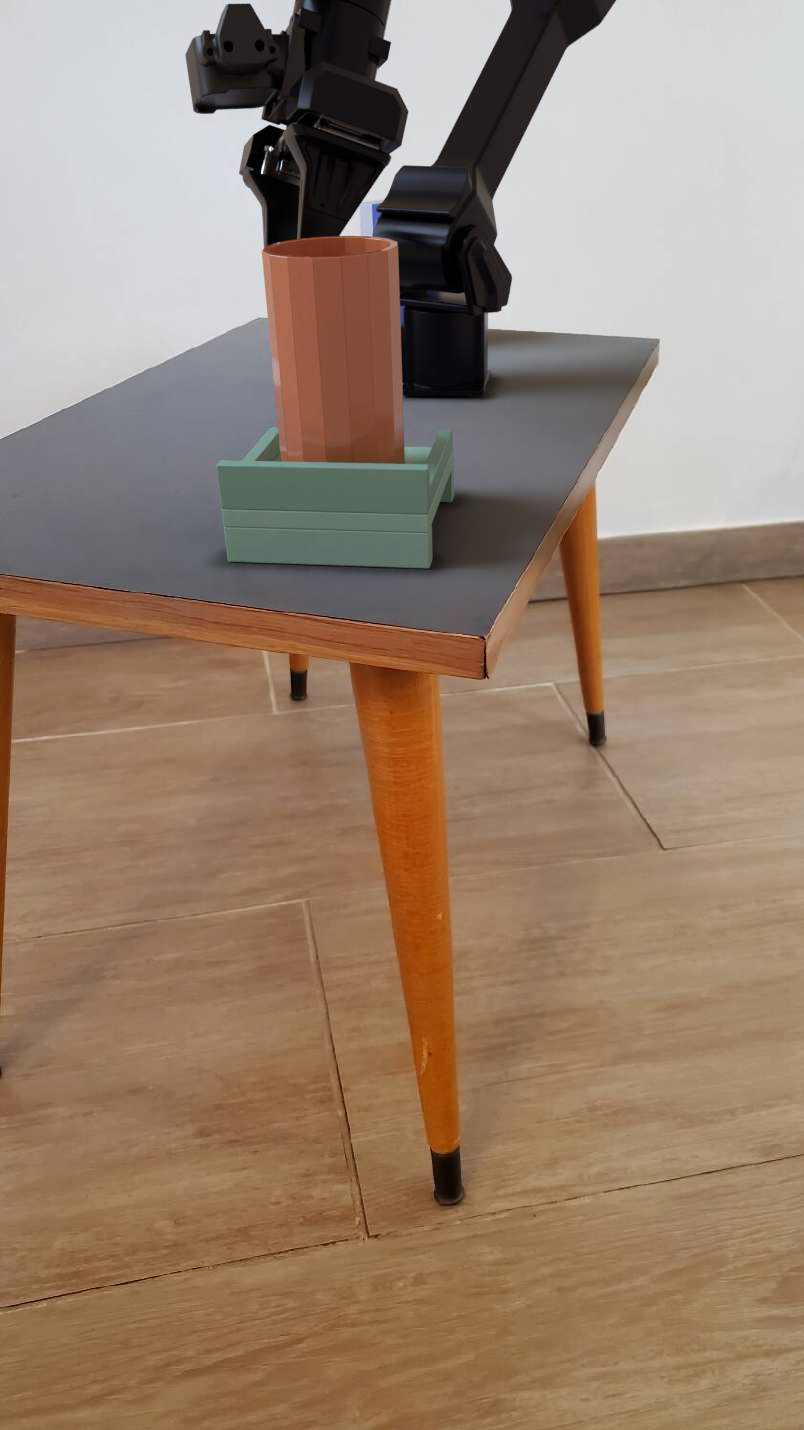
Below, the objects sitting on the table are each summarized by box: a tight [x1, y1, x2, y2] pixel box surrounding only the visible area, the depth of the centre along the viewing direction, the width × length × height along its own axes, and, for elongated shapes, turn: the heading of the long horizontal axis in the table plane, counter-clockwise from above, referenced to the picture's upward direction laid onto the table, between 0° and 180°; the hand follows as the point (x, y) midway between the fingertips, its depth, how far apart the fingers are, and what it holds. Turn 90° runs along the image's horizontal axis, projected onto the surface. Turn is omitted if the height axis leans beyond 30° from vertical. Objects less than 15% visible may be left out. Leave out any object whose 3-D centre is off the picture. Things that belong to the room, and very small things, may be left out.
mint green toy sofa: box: [215, 427, 455, 569], centre depth 62 cm, size 11×11×5 cm
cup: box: [261, 235, 405, 464], centre depth 59 cm, size 7×7×12 cm
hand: (288, 281), depth 71 cm, fingers open, 9 cm apart
